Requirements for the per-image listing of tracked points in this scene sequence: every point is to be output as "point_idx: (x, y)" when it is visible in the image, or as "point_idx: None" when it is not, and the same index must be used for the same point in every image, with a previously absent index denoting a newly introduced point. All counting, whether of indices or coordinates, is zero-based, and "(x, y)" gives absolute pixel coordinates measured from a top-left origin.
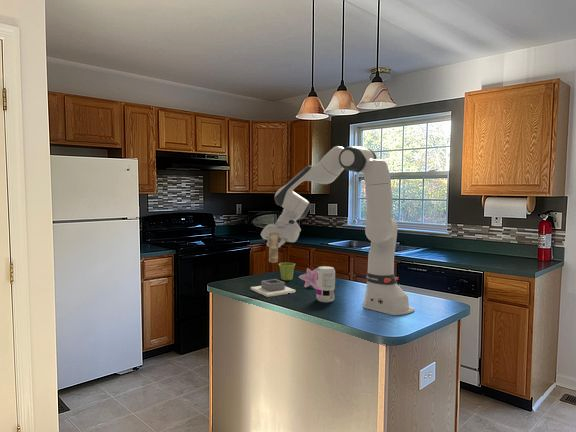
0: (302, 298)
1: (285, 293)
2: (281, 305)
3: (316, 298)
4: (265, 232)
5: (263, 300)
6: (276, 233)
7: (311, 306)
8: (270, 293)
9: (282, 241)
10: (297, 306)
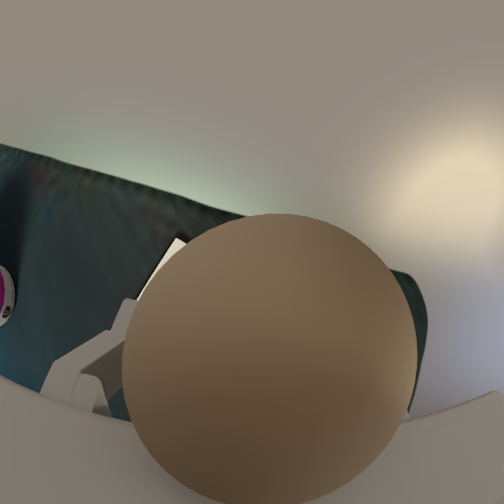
0: (55, 284)
1: None
2: (95, 174)
3: (12, 281)
4: (495, 435)
5: (169, 195)
6: (195, 399)
7: (19, 210)
8: (171, 255)
9: (71, 362)
10: (51, 189)
